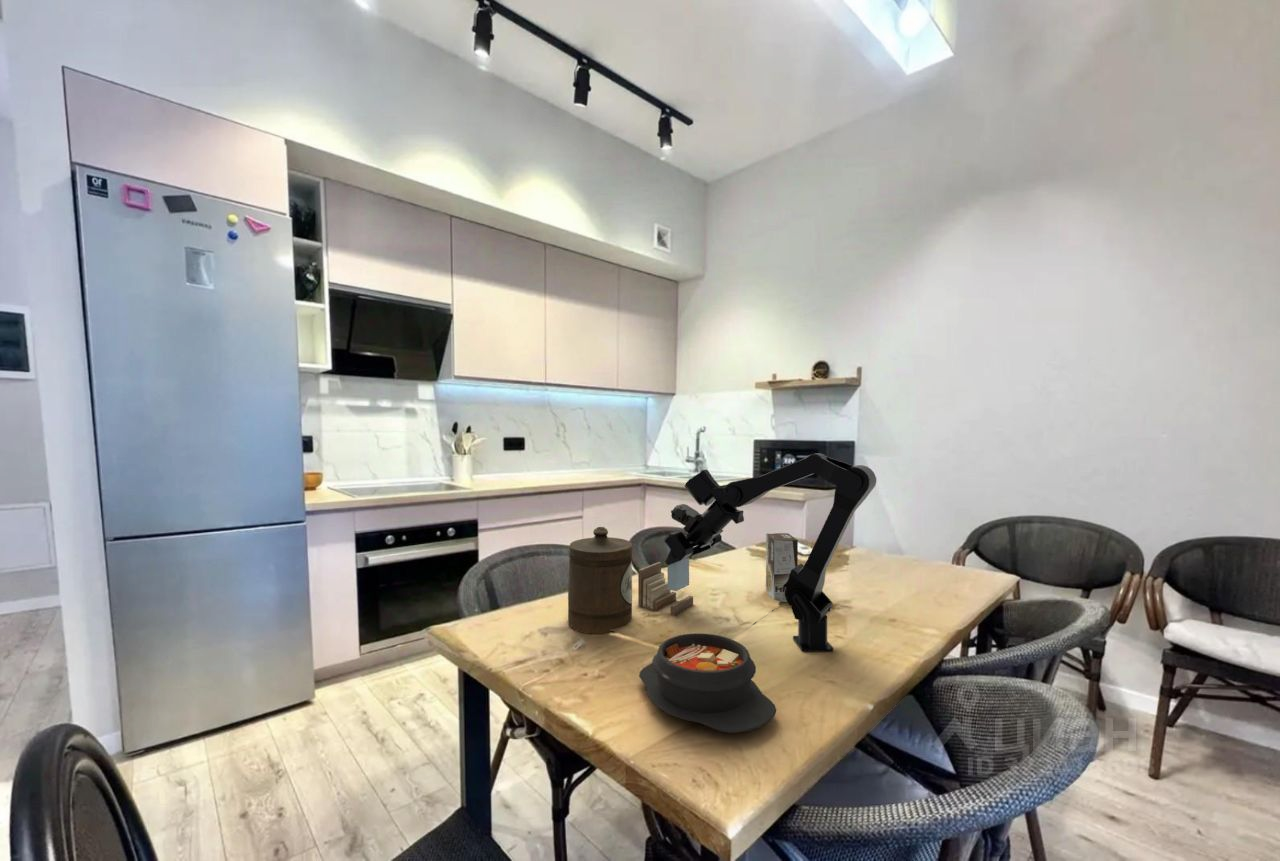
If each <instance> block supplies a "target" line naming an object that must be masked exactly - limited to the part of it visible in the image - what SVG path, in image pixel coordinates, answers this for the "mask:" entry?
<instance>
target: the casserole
mask: <svg viewBox="0 0 1280 861" xmlns="http://www.w3.org/2000/svg"><path fill="white" fill-rule="evenodd" d="M651 661H652V662H651V663H649V664H648V665H646V666H645V667H643V668H642V669H641V670H640V672H639V675H638V676H639V678H640V680H641V681H642V683H643V684H644V686H645V688H646V692H647V695H648V698H649V699H650V701H651V702H652V703H653V704H654V705H655V706H656V707H657V708H658V709H660V711H661V710H662V711H663V712H664V713H666V714H668V715H670V716H672V717H675V718H677V719H680V720H684V721H689V722H693V723H697V724H701V725H704V726H706V727H709V728H711V729H714V730H715V731H718V732H722V733H727V734H737V733H739V734H740V733H746V732H749V731H753V730H756V729H759V728H762V727H763V726H765V725H766V724H768V723H769V722H771V720H773V718H774V717H775V716H776V714H777V707H776V704H775V703H773V701H772V700H771V699H770V698H769V697H768V696H766V695H764V693H763V692H762V691H761V690H760V687H758V685H757V684H756V682H755V681H754V680H752V679H753V678H754V677H755V674H756V671H757V667H756V664H755V662H754V660H753V659H752V658H751V656H750V653H749V651H748V649H747V648H746V647H745V646H744V645H743V644H741V643H740V642H738V641H736V640H734V639H732V638H730V637H726V636H723V635H718V634H713V633H700V632H698V633H697V632H696V633H686V634H679V635H675V636H672V637H669V638H668V639H666V640H665V641H663V642H662V643H661V644H660V645H659V647H658V649H657V651H656V654H655V655H654V656H653V659H652V660H651Z"/></svg>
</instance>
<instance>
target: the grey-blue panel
mask: <svg viewBox="0 0 1280 861" xmlns="http://www.w3.org/2000/svg"><path fill="white" fill-rule="evenodd" d="M666 545H667V544H666ZM670 550H671V549H670V548H669V546H668V545H667V552H666V553H667V554H666V555H667V556H666V558H667V557H668V554H669V552H670ZM667 582H668V590H670V591H672V592H678V591H680V590H681V589H684V588H686V587H687V586H689V585H690V557H689V558H687V559H684V560H681V561H679V562H676V563H673V564H670V565H667Z"/></svg>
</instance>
